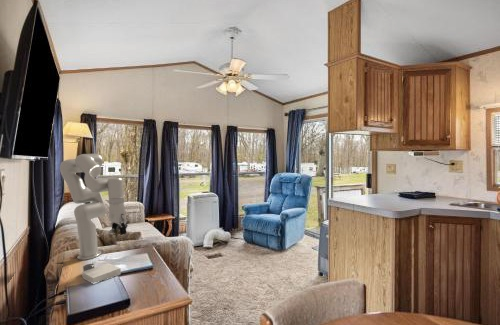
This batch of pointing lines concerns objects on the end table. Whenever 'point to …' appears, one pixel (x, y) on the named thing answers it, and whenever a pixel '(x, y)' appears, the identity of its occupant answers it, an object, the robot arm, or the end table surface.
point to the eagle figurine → (116, 230)
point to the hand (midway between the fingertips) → (119, 232)
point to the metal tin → (88, 267)
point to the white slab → (101, 273)
